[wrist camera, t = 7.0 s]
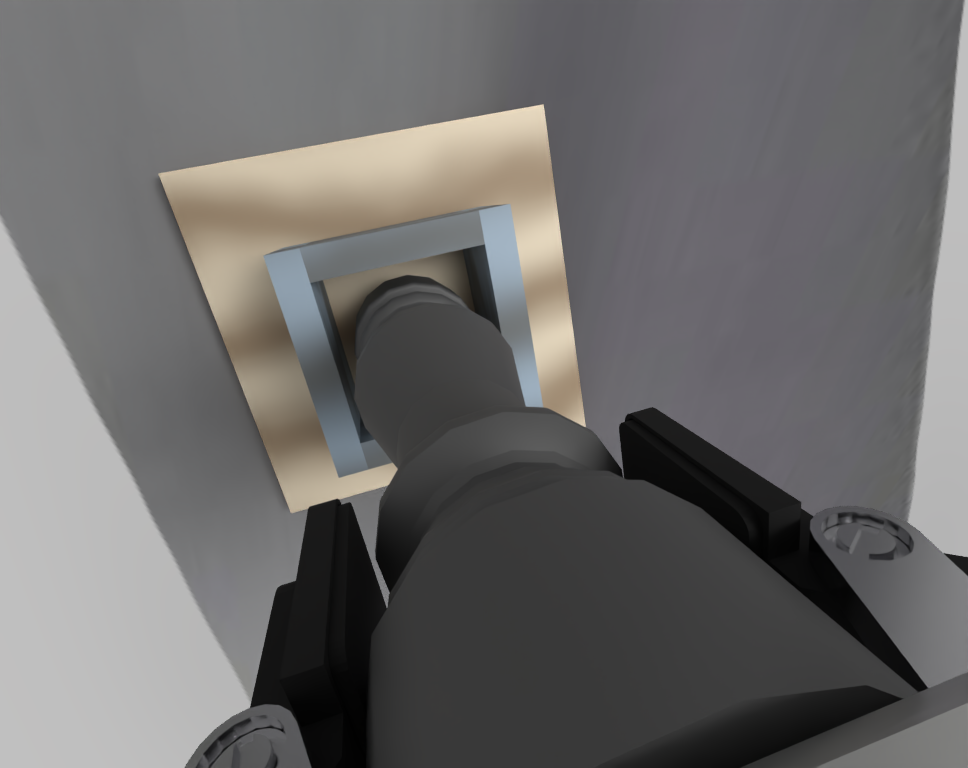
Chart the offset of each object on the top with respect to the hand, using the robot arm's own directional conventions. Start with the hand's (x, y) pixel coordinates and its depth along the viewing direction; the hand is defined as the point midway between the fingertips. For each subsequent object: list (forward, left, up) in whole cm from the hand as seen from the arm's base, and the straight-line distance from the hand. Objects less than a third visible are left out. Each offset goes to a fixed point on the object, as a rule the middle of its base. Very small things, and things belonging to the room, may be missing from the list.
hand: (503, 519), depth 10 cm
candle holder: (0, 0, -19) cm, 19 cm away
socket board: (0, 0, -22) cm, 22 cm away
